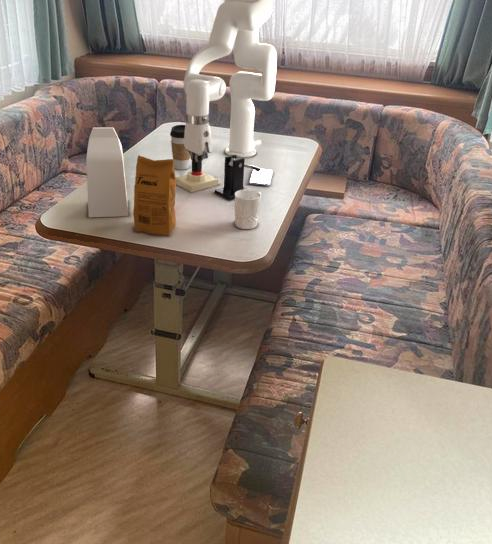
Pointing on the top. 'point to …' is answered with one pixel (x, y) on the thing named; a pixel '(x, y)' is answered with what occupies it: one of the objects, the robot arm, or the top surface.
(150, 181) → the coffee package
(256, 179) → the mobile phone
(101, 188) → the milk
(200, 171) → the button
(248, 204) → the white cup
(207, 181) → the control box
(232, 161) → the switch lever
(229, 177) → the switch bracket
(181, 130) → the coffee cup
